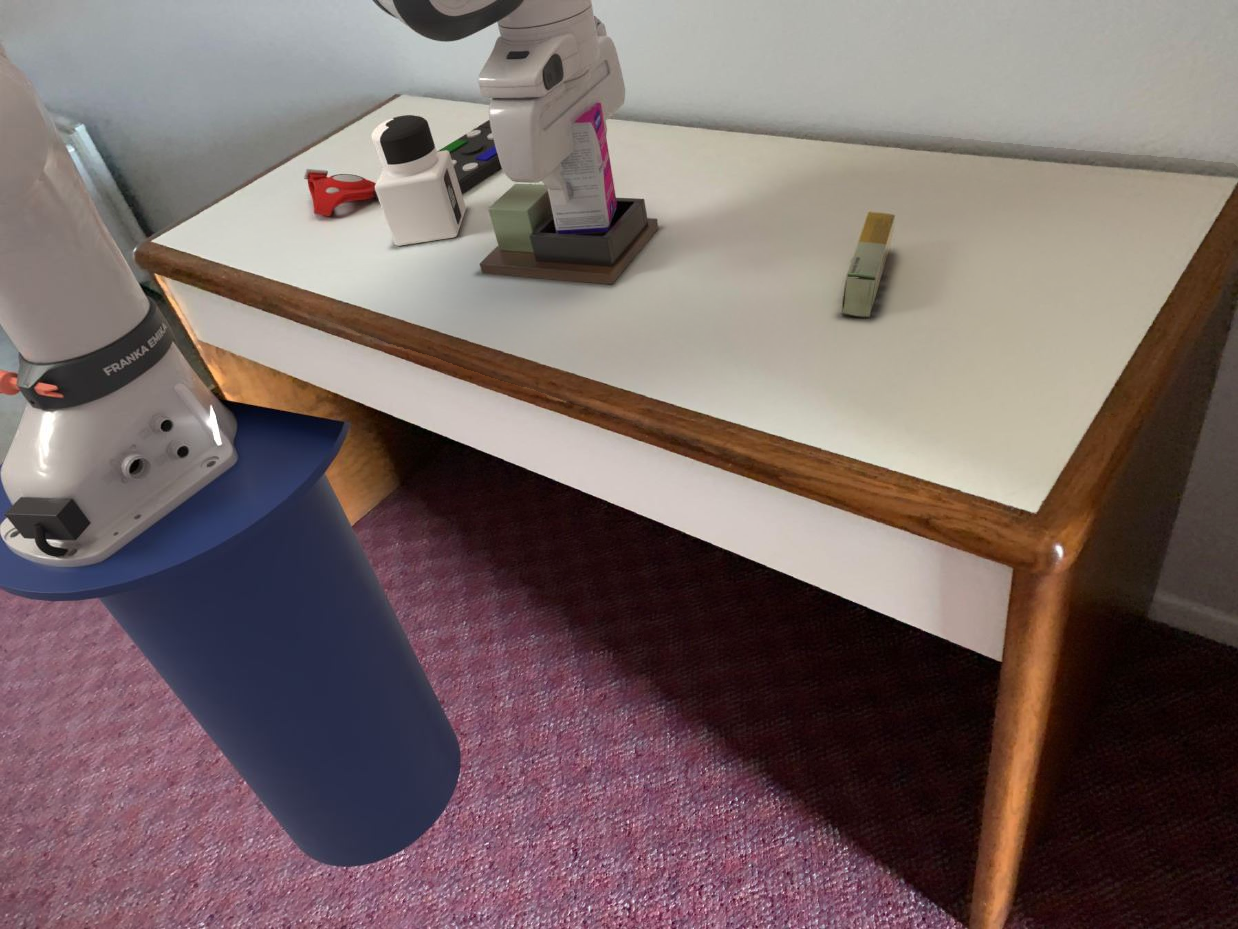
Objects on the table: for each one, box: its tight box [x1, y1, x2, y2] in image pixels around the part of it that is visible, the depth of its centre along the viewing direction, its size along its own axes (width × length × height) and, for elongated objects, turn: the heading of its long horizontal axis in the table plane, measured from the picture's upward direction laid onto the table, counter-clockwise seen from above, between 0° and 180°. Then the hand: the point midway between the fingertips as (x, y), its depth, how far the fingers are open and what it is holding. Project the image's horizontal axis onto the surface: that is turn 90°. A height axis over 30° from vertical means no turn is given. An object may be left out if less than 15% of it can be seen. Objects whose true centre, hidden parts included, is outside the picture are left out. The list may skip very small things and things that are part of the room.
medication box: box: [841, 211, 896, 319], centre depth 85 cm, size 12×3×4 cm, turn 160°
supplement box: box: [548, 103, 617, 235], centre depth 94 cm, size 6×6×12 cm
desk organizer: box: [479, 183, 659, 285], centre depth 100 cm, size 12×16×6 cm
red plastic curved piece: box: [303, 168, 377, 217], centre depth 123 cm, size 12×4×10 cm
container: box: [370, 114, 467, 247], centre depth 108 cm, size 8×8×13 cm
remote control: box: [373, 119, 502, 202], centre depth 127 cm, size 11×30×2 cm, turn 144°
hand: (580, 184), depth 95 cm, fingers closed on supplement box, 6 cm apart
